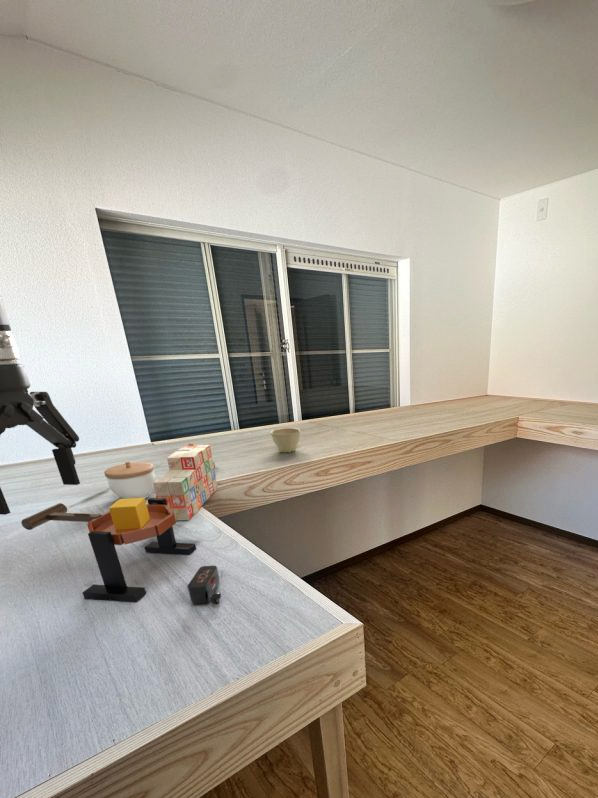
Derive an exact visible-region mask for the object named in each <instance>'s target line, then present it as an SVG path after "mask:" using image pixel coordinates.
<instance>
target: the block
mask: <svg viewBox="0 0 598 798" xmlns="http://www.w3.org/2000/svg"><path fill="white" fill-rule="evenodd" d="M146 504H147V501H146V498H127V499H122V498H118V499H117V500H116V501H115V502H114V503H113V504H112V505H111V506H109V507H108V509H109V512H110V514H111V517H112V521H113V524H114V527H115V530H128V529H141V528H142V527H143V526H144V525H145V524H146V523H147V522H148V521H149V520H150V516H149V512H148V508H147V505H146Z"/></svg>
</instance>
